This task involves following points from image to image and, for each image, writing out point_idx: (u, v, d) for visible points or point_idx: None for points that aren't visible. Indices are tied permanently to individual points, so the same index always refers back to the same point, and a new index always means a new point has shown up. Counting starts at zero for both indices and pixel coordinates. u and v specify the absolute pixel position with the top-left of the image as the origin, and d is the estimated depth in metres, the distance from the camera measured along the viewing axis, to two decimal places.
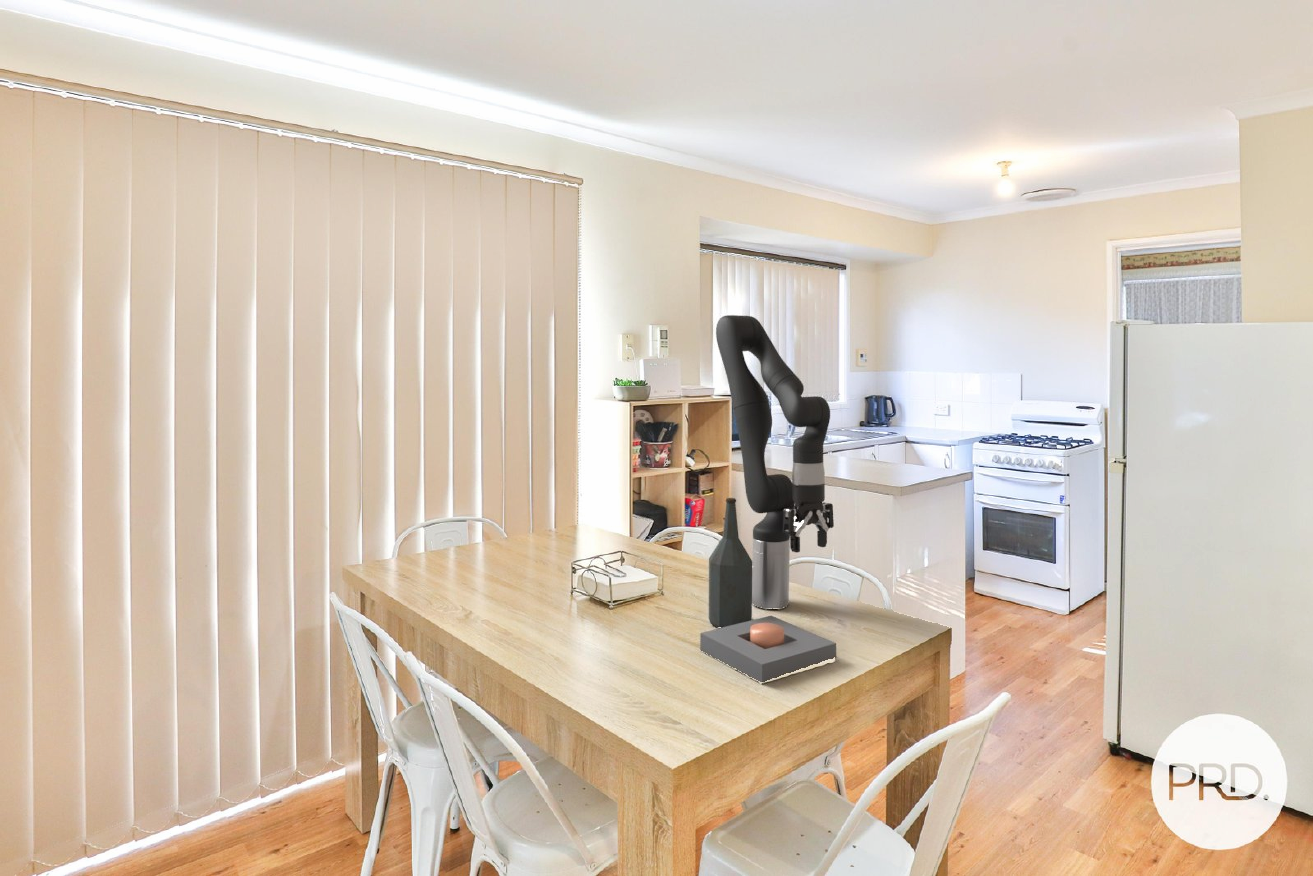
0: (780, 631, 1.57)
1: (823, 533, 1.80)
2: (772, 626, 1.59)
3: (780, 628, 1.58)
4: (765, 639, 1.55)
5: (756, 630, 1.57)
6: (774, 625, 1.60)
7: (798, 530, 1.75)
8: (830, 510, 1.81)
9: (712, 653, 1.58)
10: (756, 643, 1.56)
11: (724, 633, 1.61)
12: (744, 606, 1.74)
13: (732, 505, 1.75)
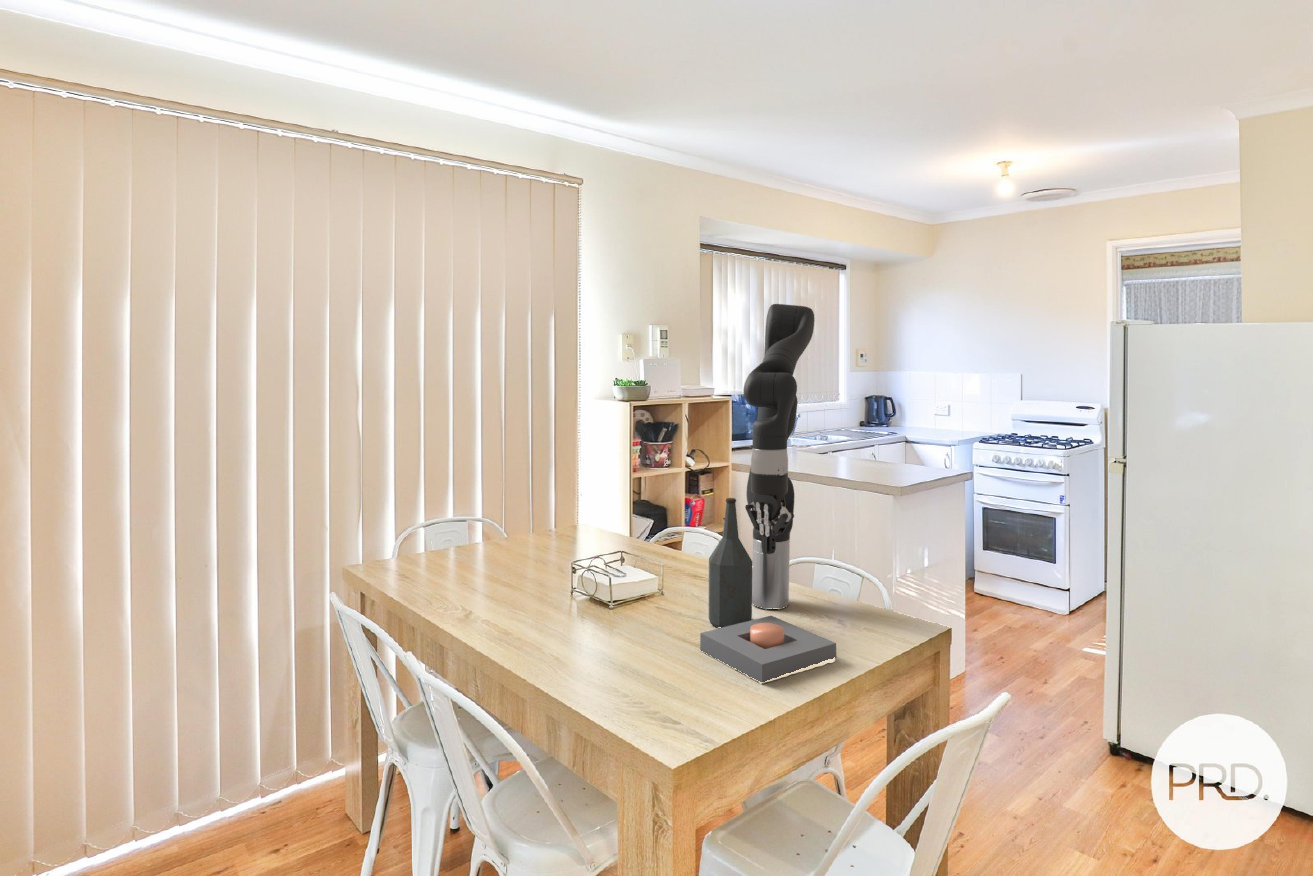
0: (780, 631, 1.57)
1: None
2: (772, 626, 1.59)
3: (780, 628, 1.58)
4: (765, 639, 1.55)
5: (756, 630, 1.57)
6: (774, 625, 1.60)
7: None
8: None
9: (712, 653, 1.58)
10: (756, 643, 1.56)
11: (724, 633, 1.61)
12: (744, 606, 1.74)
13: (732, 505, 1.75)
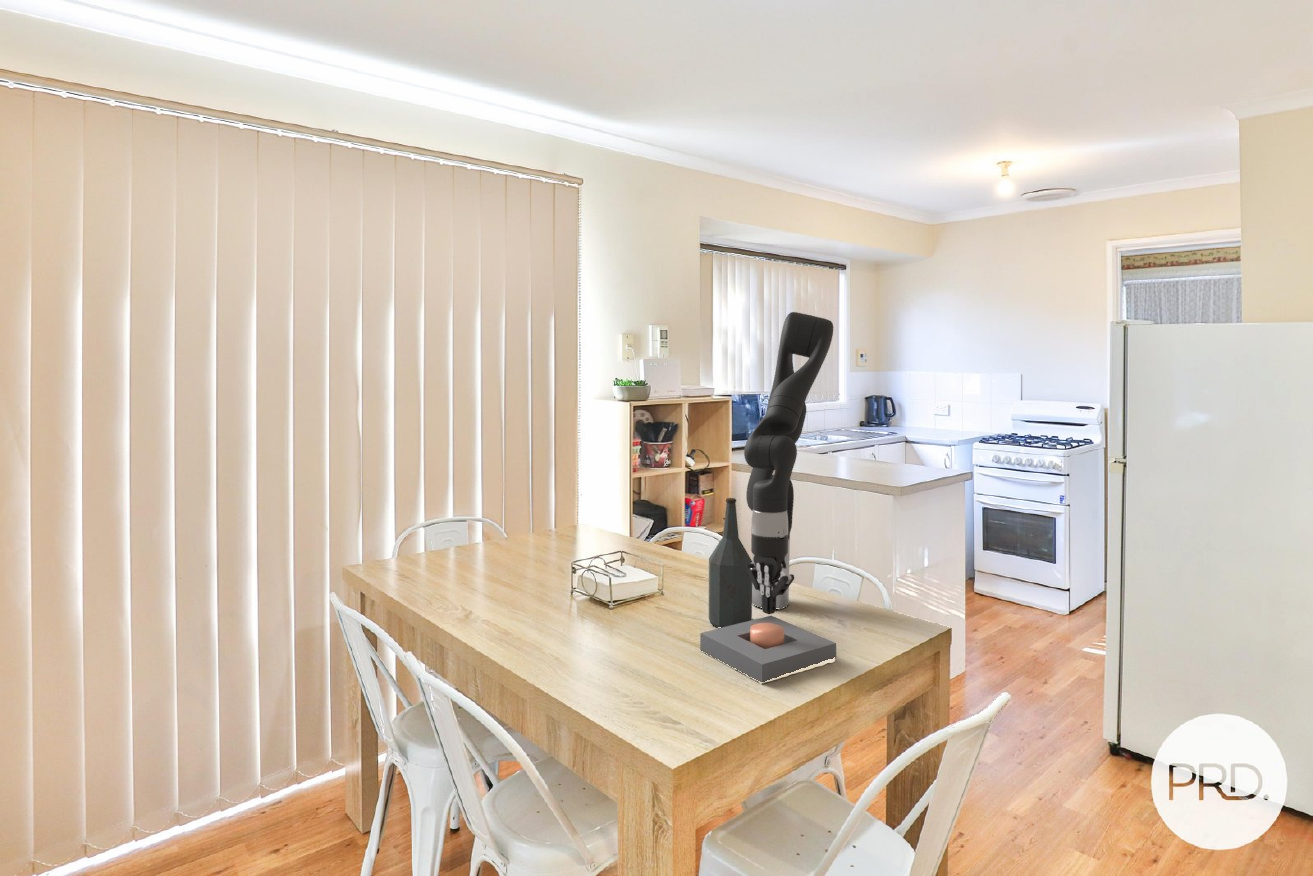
0: (780, 631, 1.57)
1: None
2: (772, 626, 1.59)
3: (780, 628, 1.58)
4: (765, 639, 1.55)
5: (756, 630, 1.57)
6: (774, 625, 1.60)
7: None
8: None
9: (712, 653, 1.58)
10: (756, 643, 1.56)
11: (724, 633, 1.61)
12: (744, 606, 1.74)
13: (732, 505, 1.75)
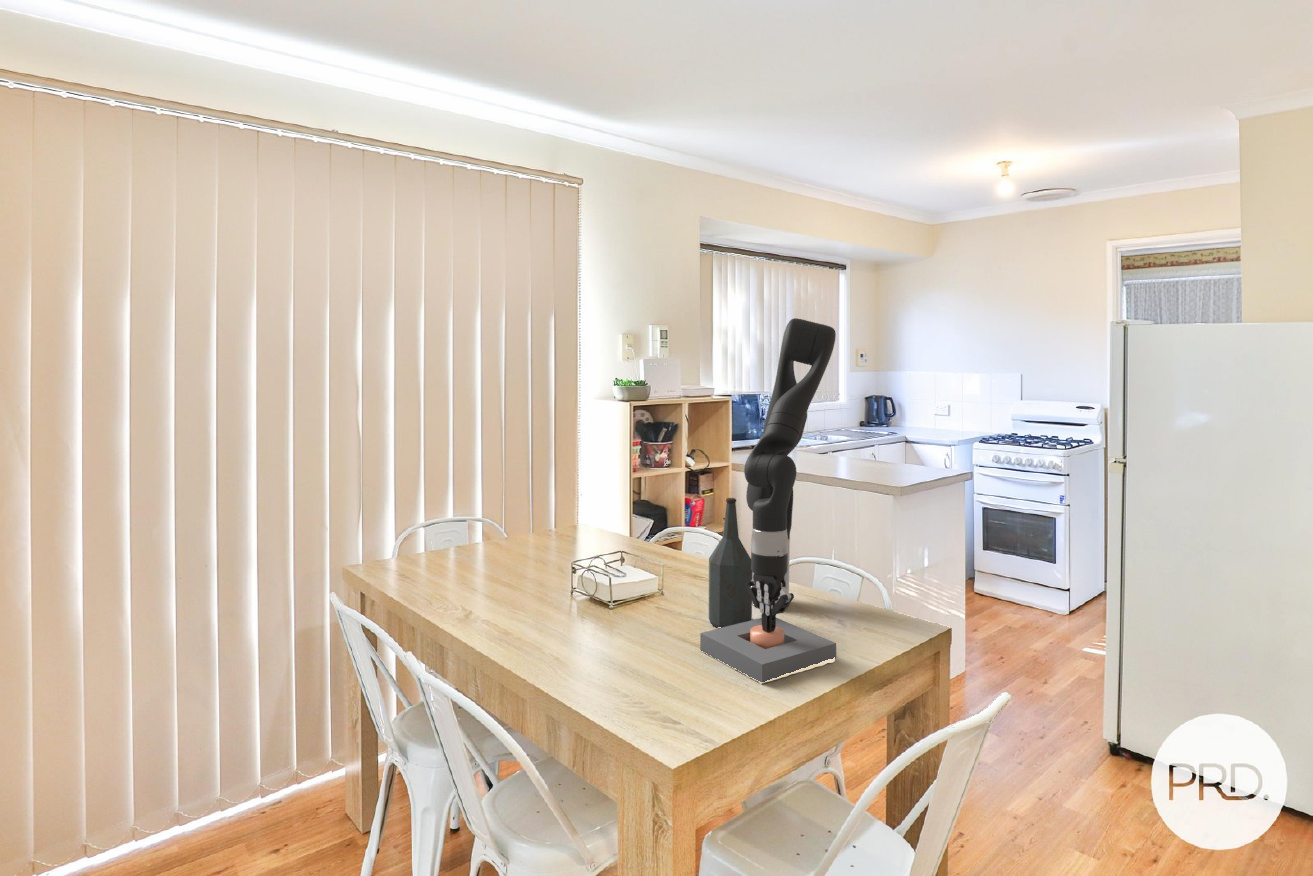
0: (780, 633, 1.57)
1: None
2: None
3: (780, 630, 1.58)
4: (765, 641, 1.55)
5: (756, 632, 1.57)
6: None
7: None
8: None
9: (712, 653, 1.58)
10: None
11: (724, 633, 1.61)
12: (744, 606, 1.74)
13: (732, 505, 1.75)
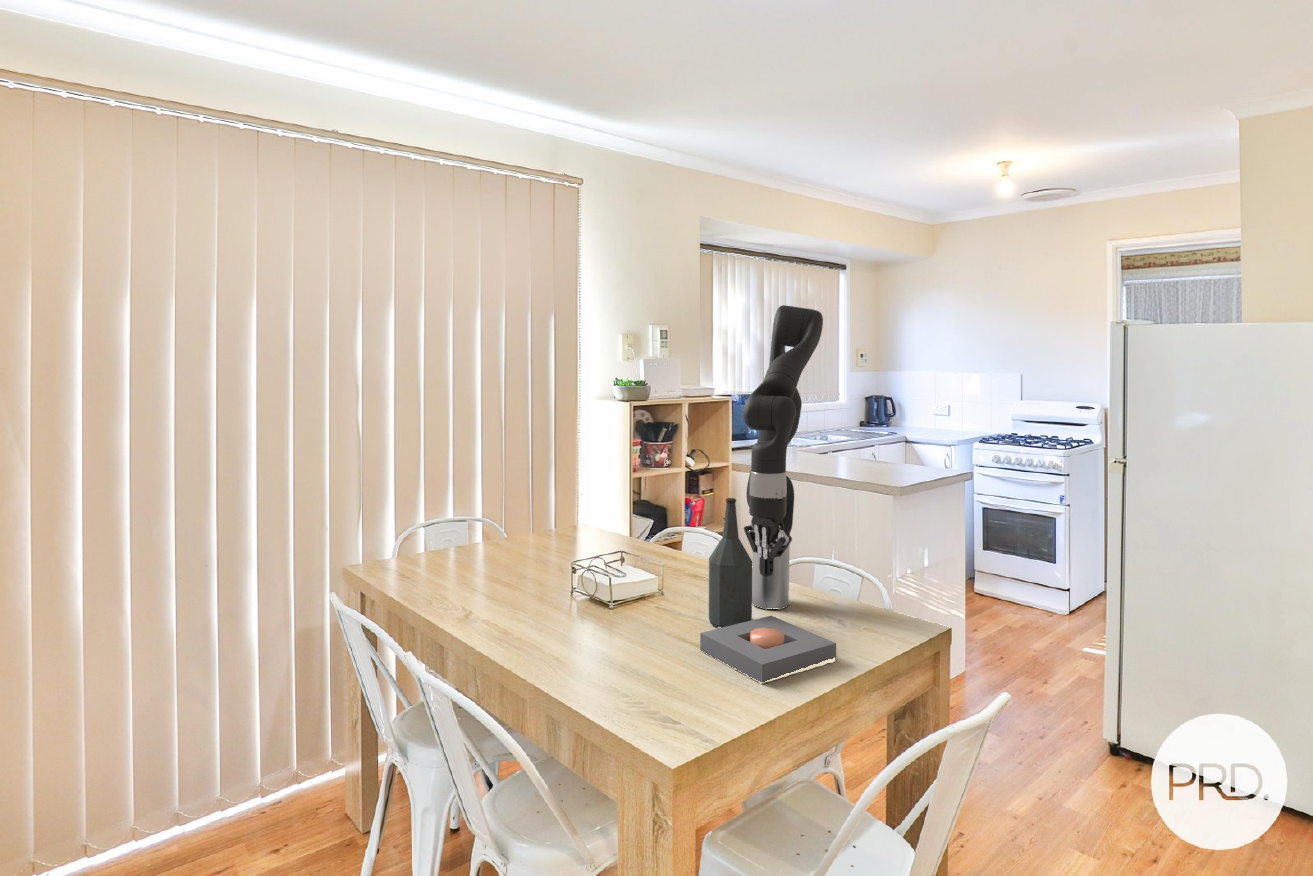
0: (780, 636, 1.57)
1: None
2: (772, 632, 1.59)
3: (780, 633, 1.58)
4: (765, 644, 1.55)
5: (756, 635, 1.57)
6: (774, 630, 1.60)
7: None
8: None
9: (712, 653, 1.58)
10: None
11: (724, 633, 1.61)
12: (744, 606, 1.74)
13: (731, 505, 1.75)
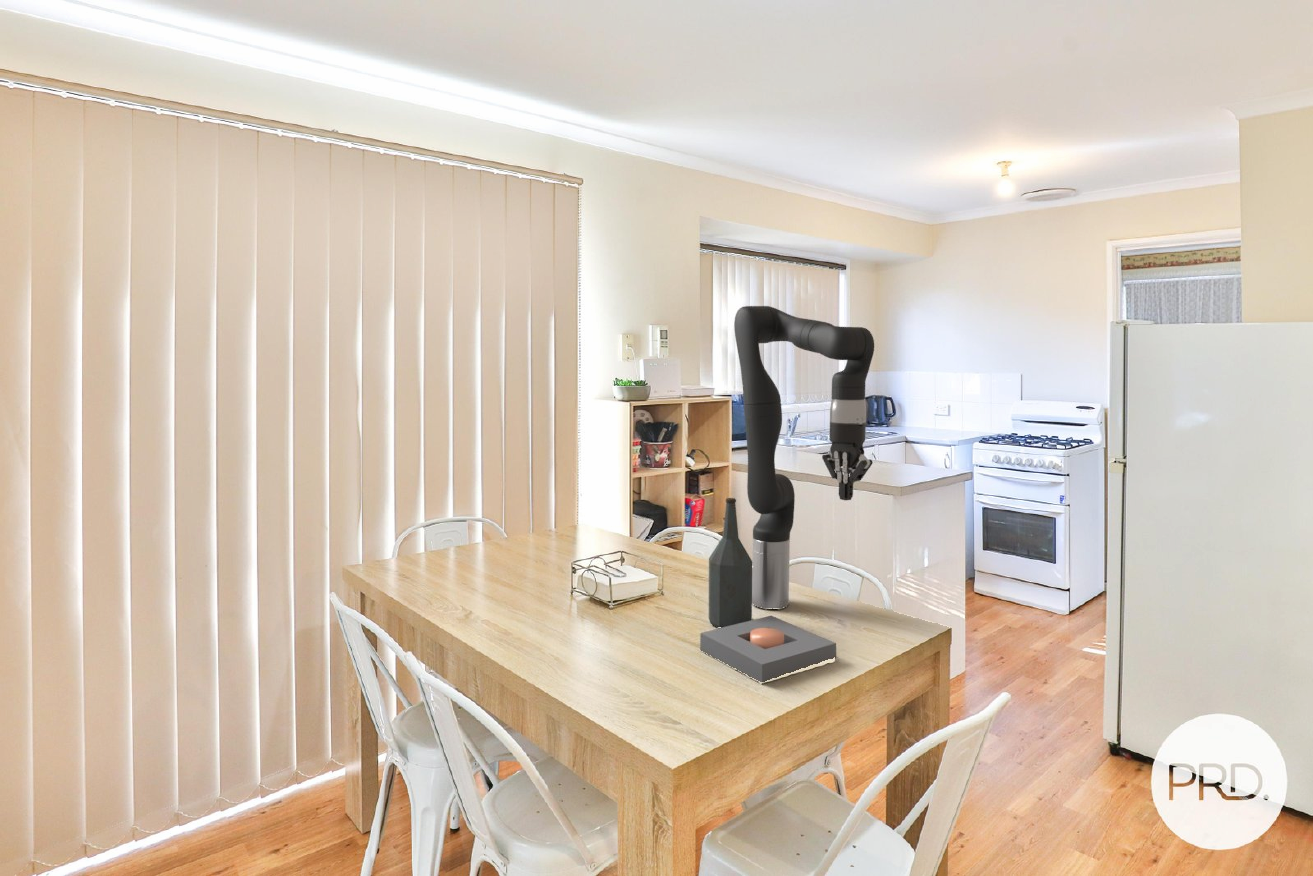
0: (780, 636, 1.57)
1: None
2: (772, 632, 1.59)
3: (780, 633, 1.58)
4: (765, 644, 1.55)
5: (756, 635, 1.57)
6: (774, 630, 1.60)
7: None
8: None
9: (712, 653, 1.58)
10: None
11: (724, 633, 1.61)
12: (744, 606, 1.74)
13: (731, 505, 1.75)
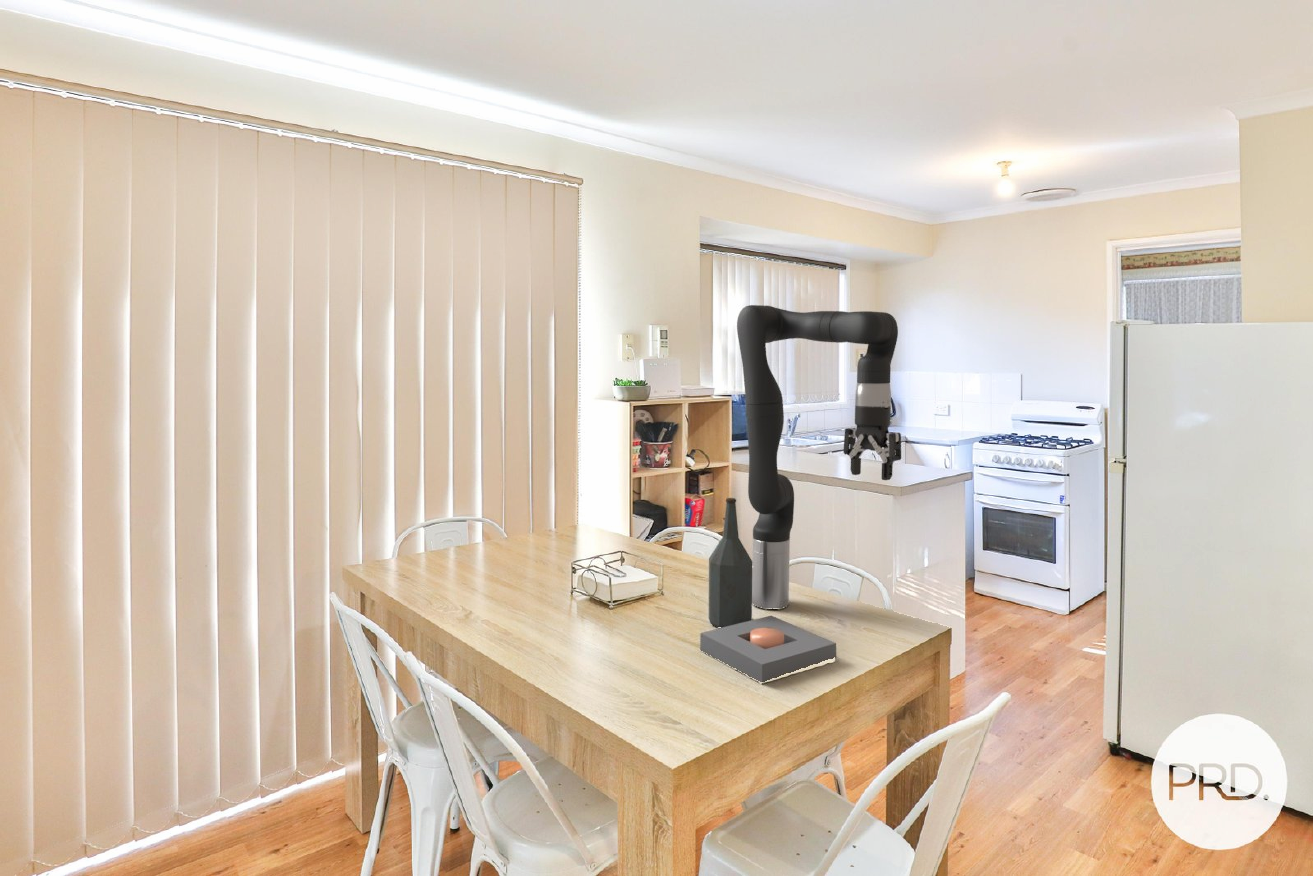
0: (780, 636, 1.57)
1: (860, 459, 1.71)
2: (772, 632, 1.59)
3: (780, 633, 1.58)
4: (765, 644, 1.55)
5: (756, 635, 1.57)
6: (774, 630, 1.60)
7: None
8: None
9: (712, 653, 1.58)
10: None
11: (724, 633, 1.61)
12: (744, 606, 1.74)
13: (732, 505, 1.75)
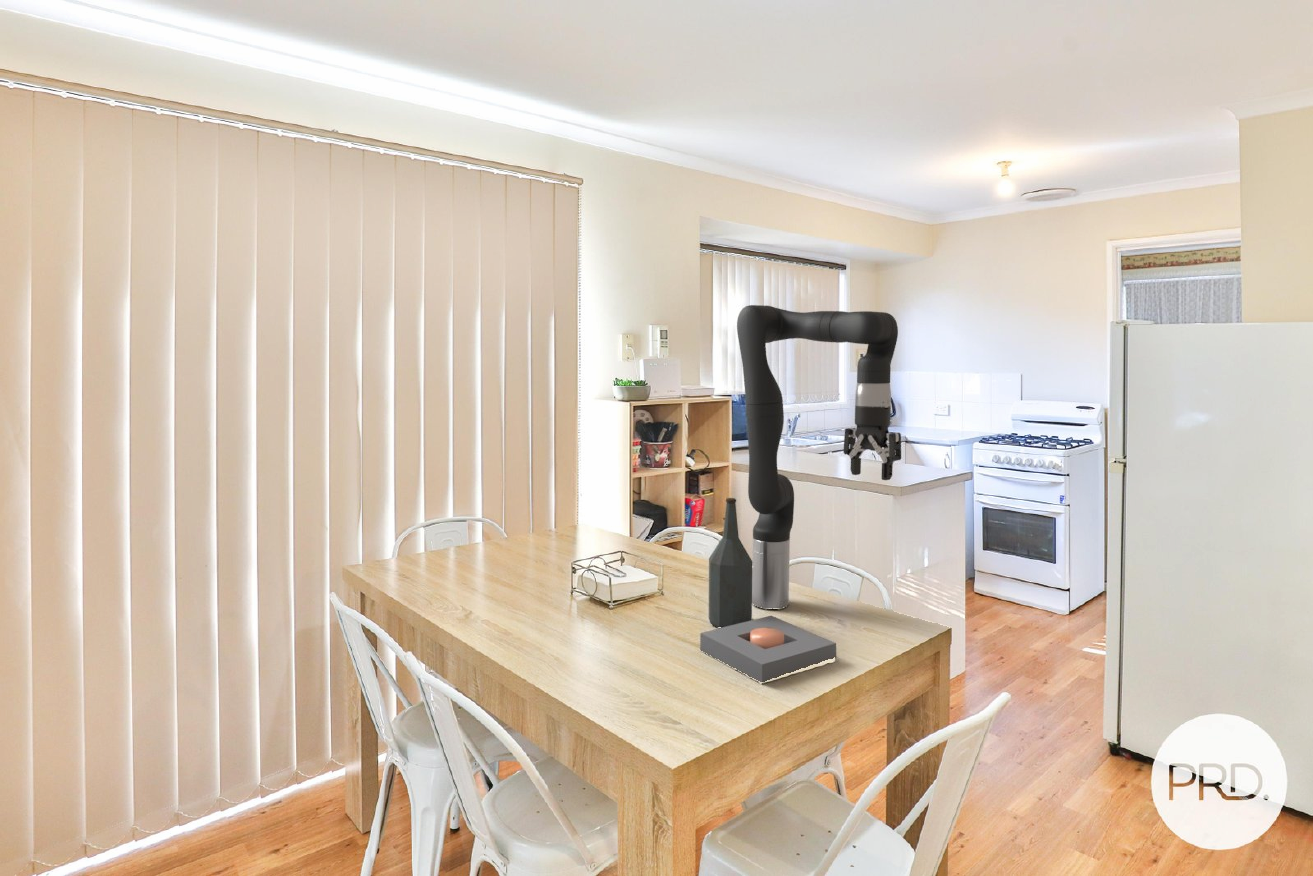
0: (780, 636, 1.57)
1: (860, 459, 1.71)
2: (772, 632, 1.59)
3: (780, 633, 1.58)
4: (765, 644, 1.55)
5: (756, 635, 1.57)
6: (774, 630, 1.60)
7: None
8: None
9: (712, 653, 1.58)
10: None
11: (724, 633, 1.61)
12: (744, 606, 1.74)
13: (732, 505, 1.75)
